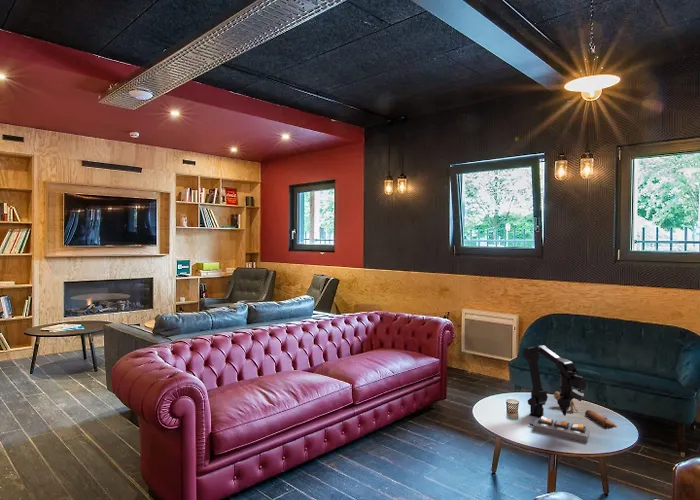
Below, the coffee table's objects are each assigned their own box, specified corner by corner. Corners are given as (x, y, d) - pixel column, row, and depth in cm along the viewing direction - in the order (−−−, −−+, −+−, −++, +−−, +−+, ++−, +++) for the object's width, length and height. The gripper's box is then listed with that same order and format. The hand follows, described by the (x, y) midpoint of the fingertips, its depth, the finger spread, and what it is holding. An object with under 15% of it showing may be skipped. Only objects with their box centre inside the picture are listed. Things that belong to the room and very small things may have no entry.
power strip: (527, 429, 246) (527, 421, 246) (531, 422, 254) (531, 415, 254) (587, 442, 230) (587, 434, 230) (589, 435, 238) (589, 427, 238)
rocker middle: (556, 426, 243) (555, 423, 243) (557, 423, 246) (556, 421, 246) (566, 426, 240) (566, 423, 240) (567, 423, 243) (567, 421, 243)
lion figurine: (552, 406, 279) (552, 391, 278) (556, 404, 282) (556, 389, 282) (575, 413, 267) (576, 398, 267) (580, 411, 270) (580, 396, 270)
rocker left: (540, 420, 247) (540, 418, 247) (541, 418, 250) (542, 416, 250) (550, 424, 244) (550, 422, 244) (551, 422, 248) (551, 419, 247)
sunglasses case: (619, 427, 247) (613, 417, 247) (609, 434, 247) (603, 424, 246) (598, 414, 265) (592, 405, 264) (588, 421, 264) (582, 411, 264)
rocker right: (572, 429, 238) (572, 426, 238) (573, 426, 241) (573, 424, 242) (583, 429, 235) (582, 427, 236) (584, 427, 239) (583, 424, 239)
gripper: (580, 392, 233) (580, 421, 233) (584, 382, 248) (584, 410, 249) (557, 388, 239) (557, 417, 240) (562, 378, 255) (562, 405, 255)
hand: (566, 412), depth 246 cm, fingers open, 9 cm apart
